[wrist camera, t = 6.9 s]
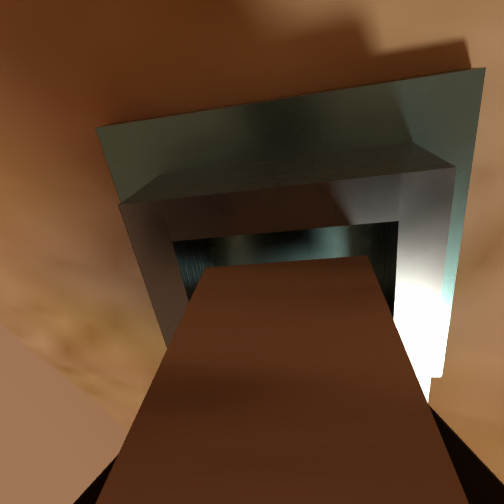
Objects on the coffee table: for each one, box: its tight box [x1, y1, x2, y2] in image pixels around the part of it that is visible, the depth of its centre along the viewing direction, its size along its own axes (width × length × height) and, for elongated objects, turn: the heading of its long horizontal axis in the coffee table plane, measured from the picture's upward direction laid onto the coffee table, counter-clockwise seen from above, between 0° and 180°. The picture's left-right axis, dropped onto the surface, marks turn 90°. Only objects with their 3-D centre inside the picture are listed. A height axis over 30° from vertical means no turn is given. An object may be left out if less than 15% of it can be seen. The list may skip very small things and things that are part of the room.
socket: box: [96, 67, 486, 402], centre depth 12 cm, size 12×12×4 cm
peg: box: [96, 255, 469, 504], centre depth 7 cm, size 4×4×8 cm
